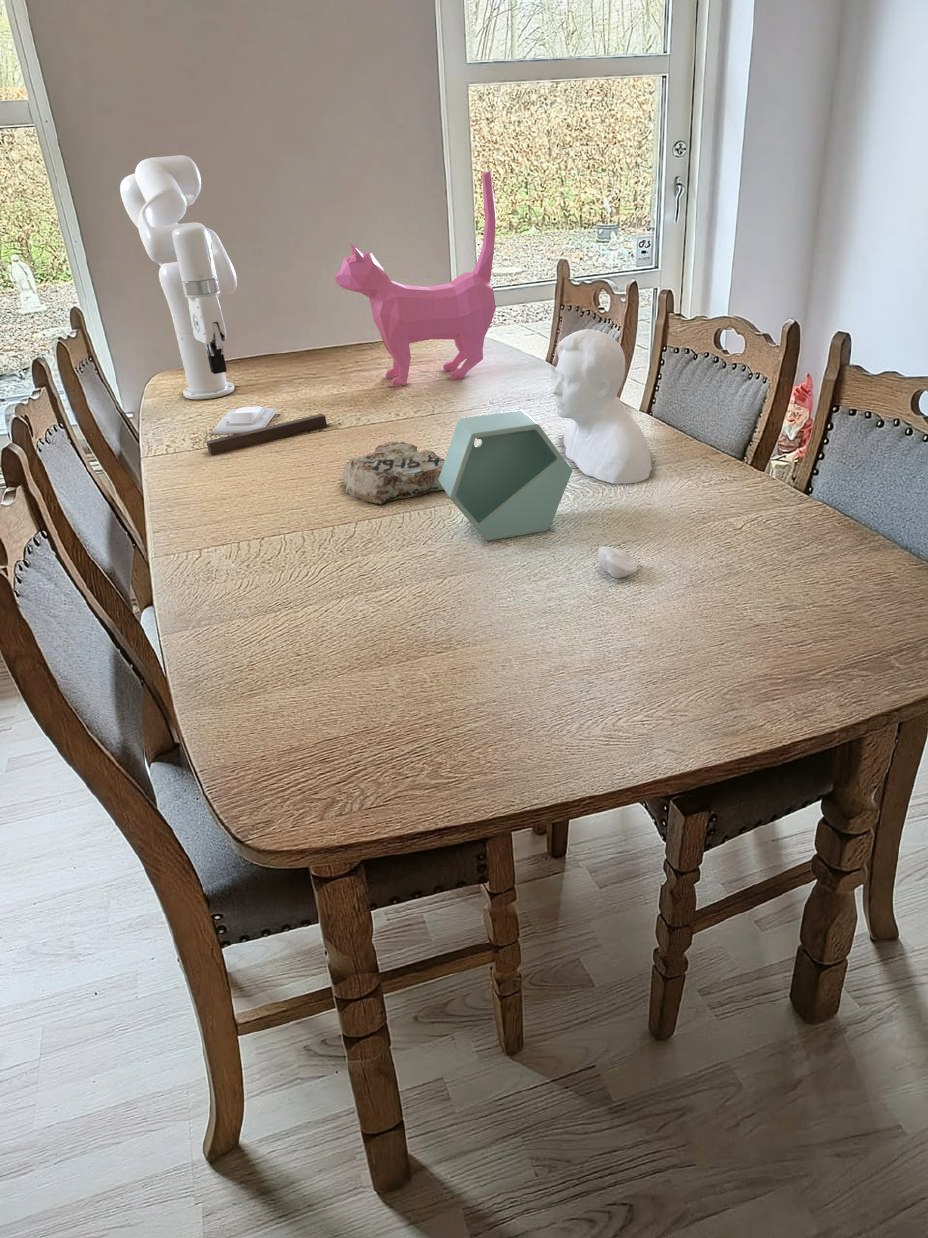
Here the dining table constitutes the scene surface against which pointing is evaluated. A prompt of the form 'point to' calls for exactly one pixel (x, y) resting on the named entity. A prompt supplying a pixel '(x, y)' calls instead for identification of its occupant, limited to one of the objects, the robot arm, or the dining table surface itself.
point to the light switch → (244, 420)
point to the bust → (598, 410)
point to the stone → (393, 473)
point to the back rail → (266, 434)
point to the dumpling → (616, 562)
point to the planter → (504, 474)
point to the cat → (429, 304)
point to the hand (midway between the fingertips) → (219, 372)
